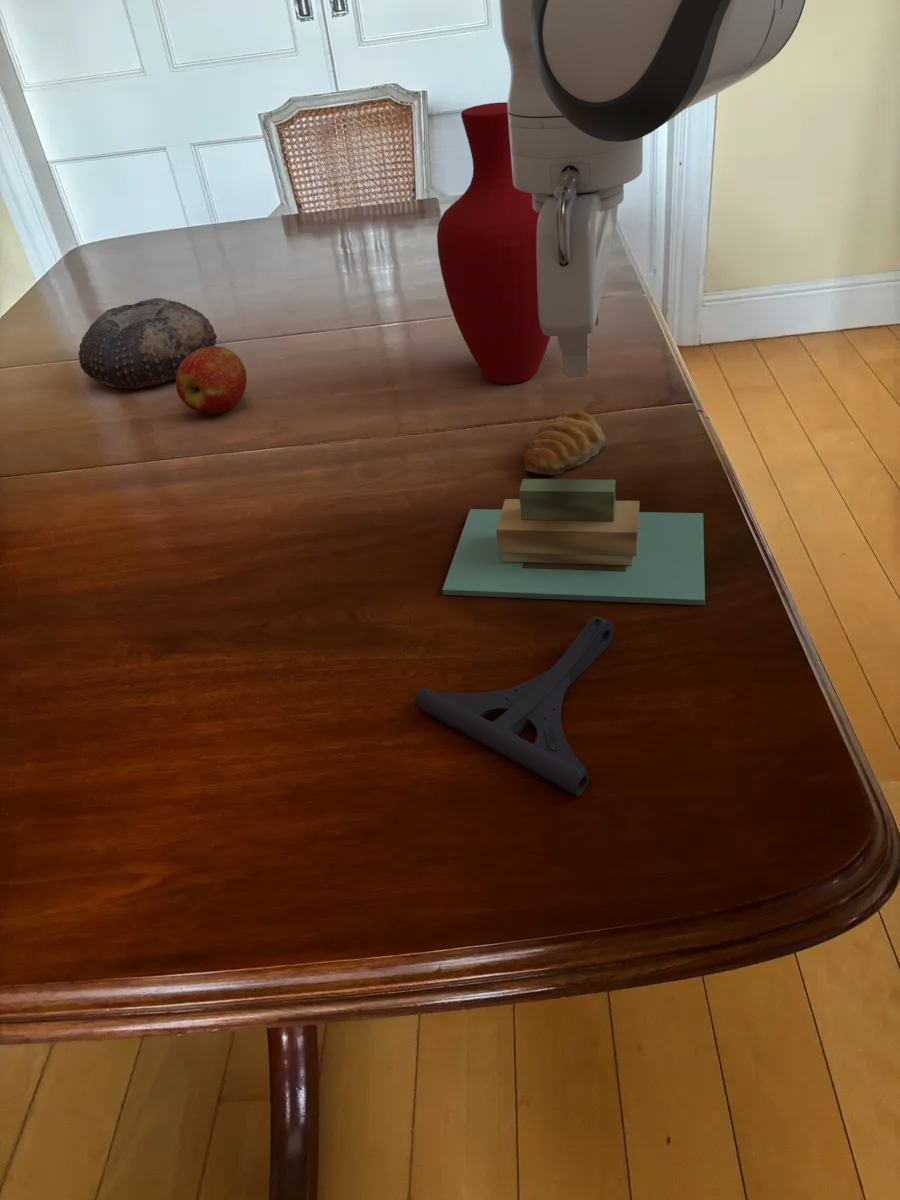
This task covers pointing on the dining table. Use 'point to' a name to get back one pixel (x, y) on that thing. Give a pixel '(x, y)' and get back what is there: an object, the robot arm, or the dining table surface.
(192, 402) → the apple
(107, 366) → the sea urchin shell
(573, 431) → the pastry
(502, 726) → the bracket
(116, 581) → the dining table surface
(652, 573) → the mat
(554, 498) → the brush
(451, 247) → the vase
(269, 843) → the dining table surface
